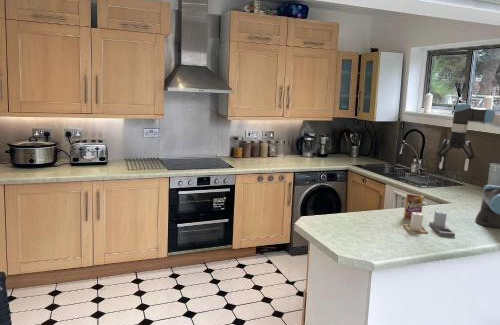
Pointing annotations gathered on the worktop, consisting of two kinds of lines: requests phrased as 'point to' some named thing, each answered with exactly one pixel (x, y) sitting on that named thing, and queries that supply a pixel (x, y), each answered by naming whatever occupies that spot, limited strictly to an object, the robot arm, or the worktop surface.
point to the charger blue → (439, 218)
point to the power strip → (442, 230)
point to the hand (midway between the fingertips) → (453, 169)
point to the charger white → (416, 221)
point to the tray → (415, 230)
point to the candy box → (413, 204)
